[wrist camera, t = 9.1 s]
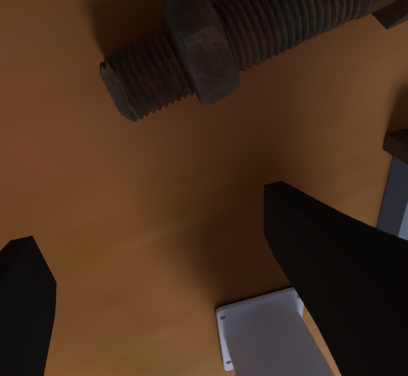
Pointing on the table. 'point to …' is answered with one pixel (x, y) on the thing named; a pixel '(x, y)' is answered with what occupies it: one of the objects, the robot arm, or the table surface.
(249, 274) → the table surface
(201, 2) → the bolt
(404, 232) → the socket
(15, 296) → the robot arm
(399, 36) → the table surface
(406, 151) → the mount bracket
